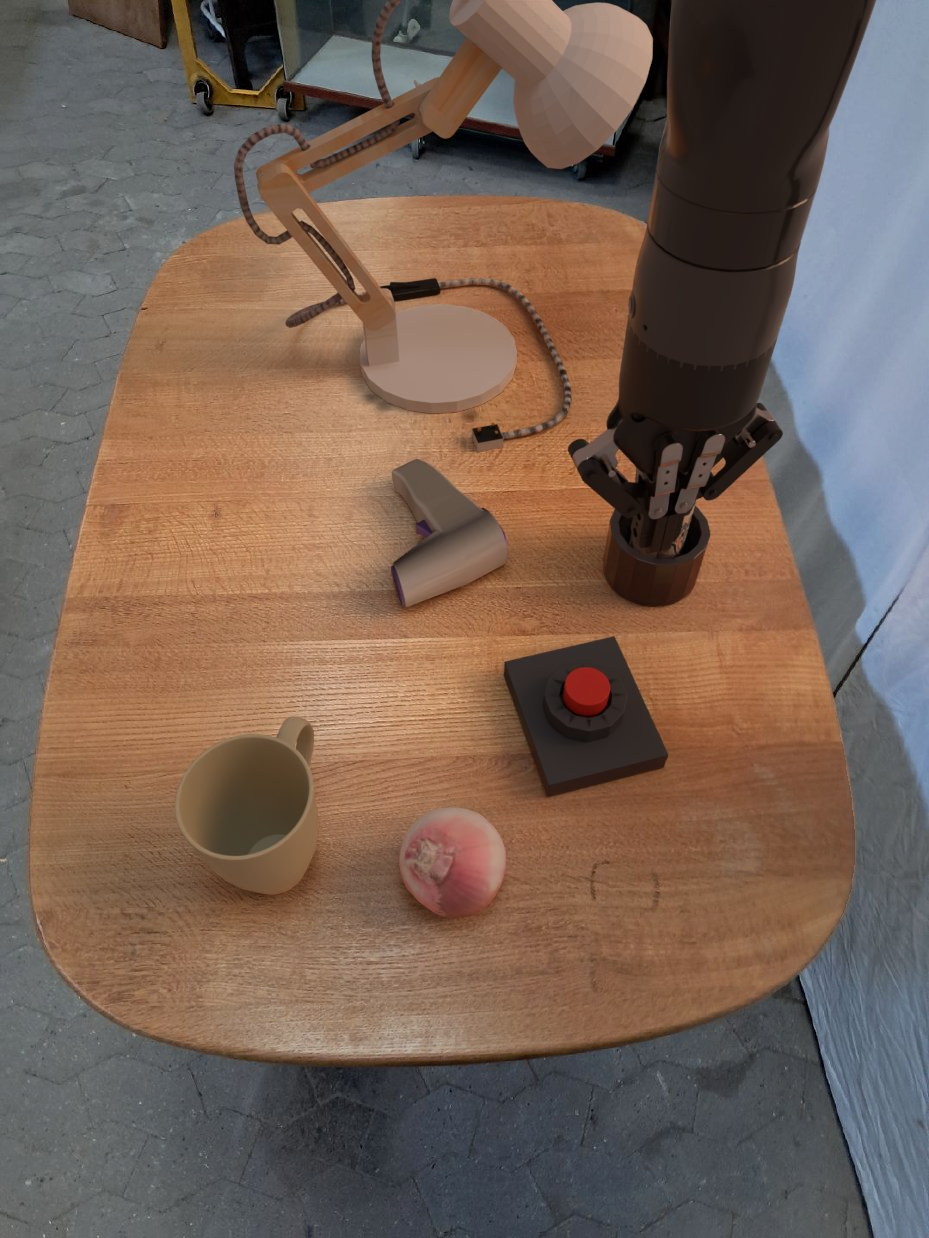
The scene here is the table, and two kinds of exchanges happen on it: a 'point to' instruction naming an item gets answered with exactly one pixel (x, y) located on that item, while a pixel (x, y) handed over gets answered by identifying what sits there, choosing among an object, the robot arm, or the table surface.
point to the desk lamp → (545, 112)
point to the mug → (253, 808)
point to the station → (583, 719)
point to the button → (586, 691)
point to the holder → (653, 564)
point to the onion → (453, 861)
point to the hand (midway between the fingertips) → (653, 542)
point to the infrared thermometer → (443, 536)
